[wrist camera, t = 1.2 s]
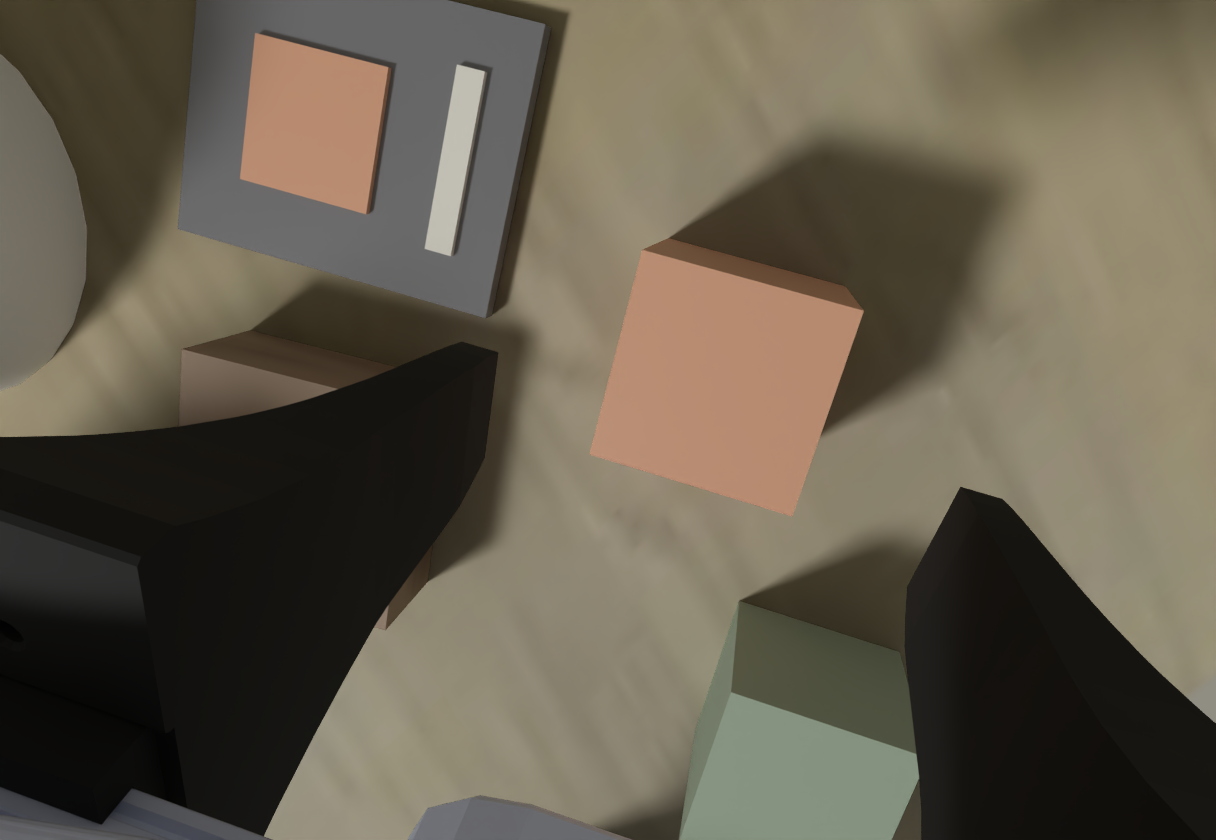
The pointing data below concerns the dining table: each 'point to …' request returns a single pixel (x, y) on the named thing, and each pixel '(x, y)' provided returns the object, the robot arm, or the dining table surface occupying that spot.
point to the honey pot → (35, 233)
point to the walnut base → (275, 396)
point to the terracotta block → (725, 373)
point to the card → (363, 138)
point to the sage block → (800, 737)
